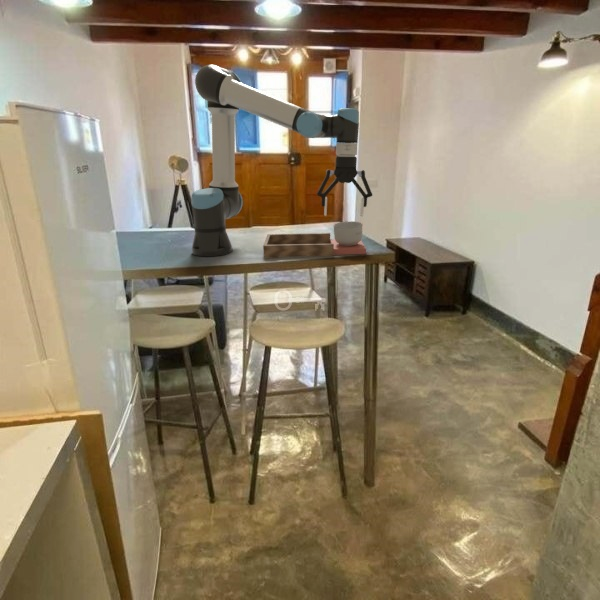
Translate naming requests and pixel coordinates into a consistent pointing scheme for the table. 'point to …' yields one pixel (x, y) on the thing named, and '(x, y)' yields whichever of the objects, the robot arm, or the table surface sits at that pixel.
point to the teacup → (348, 233)
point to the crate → (298, 245)
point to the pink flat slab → (348, 248)
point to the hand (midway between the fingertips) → (343, 215)
